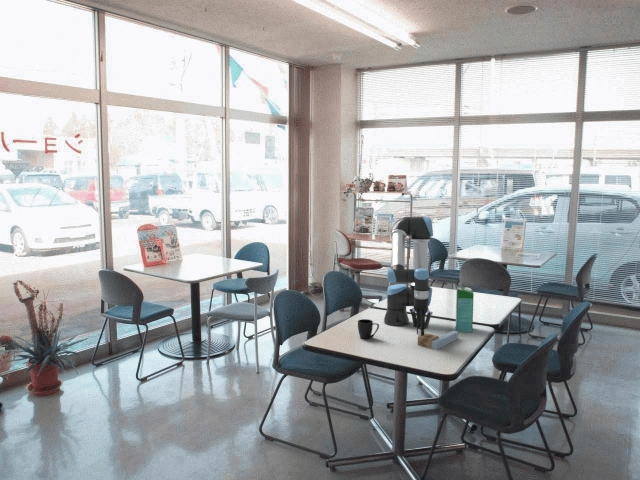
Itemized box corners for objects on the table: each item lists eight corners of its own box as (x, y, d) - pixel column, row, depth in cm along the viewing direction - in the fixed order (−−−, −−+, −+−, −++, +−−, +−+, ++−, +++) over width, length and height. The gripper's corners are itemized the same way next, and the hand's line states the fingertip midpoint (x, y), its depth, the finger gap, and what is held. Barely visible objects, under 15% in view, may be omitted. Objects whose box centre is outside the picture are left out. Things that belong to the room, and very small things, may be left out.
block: (417, 345, 288) (417, 336, 287) (425, 342, 294) (425, 333, 293) (431, 348, 282) (431, 339, 282) (438, 345, 288) (438, 336, 288)
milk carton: (472, 332, 310) (473, 289, 307) (456, 331, 312) (457, 288, 308) (471, 327, 319) (472, 286, 315) (455, 326, 320) (456, 285, 317)
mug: (375, 341, 294) (375, 324, 293) (355, 338, 299) (355, 322, 298) (381, 337, 301) (381, 321, 300) (361, 334, 307) (361, 318, 305)
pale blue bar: (431, 348, 282) (431, 341, 282) (453, 337, 300) (453, 330, 300) (436, 349, 280) (436, 342, 280) (458, 338, 298) (458, 331, 298)
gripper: (406, 297, 289) (406, 339, 292) (428, 300, 281) (427, 344, 284) (414, 294, 295) (413, 336, 298) (435, 298, 286) (434, 341, 289)
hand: (420, 340), depth 291 cm, fingers closed
